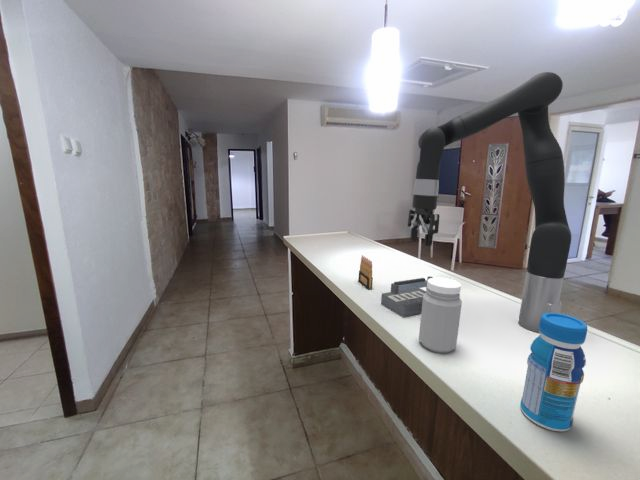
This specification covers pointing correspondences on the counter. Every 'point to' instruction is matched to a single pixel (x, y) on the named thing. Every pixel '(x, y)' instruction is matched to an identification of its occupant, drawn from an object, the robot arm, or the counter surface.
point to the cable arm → (408, 285)
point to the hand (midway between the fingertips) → (420, 242)
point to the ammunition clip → (365, 273)
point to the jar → (440, 315)
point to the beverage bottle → (554, 372)
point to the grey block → (404, 301)
